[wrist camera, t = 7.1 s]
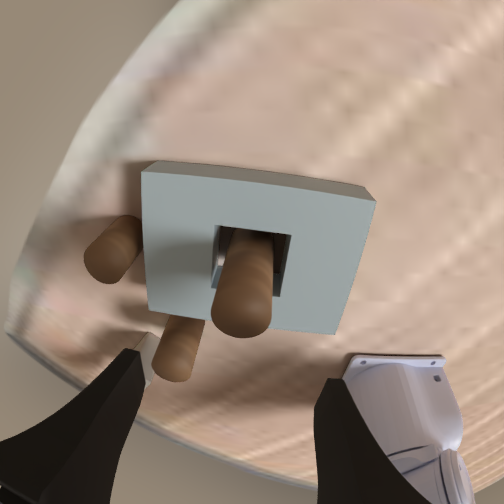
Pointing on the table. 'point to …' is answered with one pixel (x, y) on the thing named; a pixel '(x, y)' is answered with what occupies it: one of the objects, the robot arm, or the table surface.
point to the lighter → (148, 355)
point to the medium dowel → (178, 348)
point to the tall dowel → (245, 285)
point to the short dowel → (115, 250)
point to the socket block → (256, 218)
